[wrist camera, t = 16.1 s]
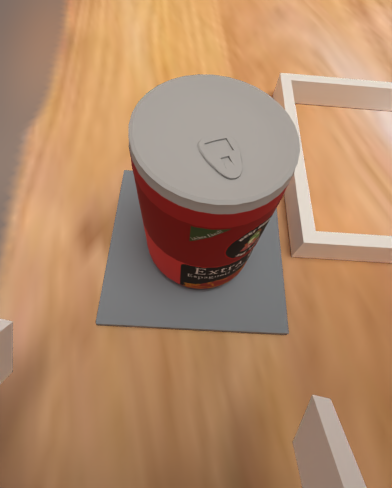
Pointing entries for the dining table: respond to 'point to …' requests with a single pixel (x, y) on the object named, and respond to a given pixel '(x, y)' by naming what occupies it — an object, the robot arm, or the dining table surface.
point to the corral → (297, 192)
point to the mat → (183, 298)
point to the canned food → (209, 173)
